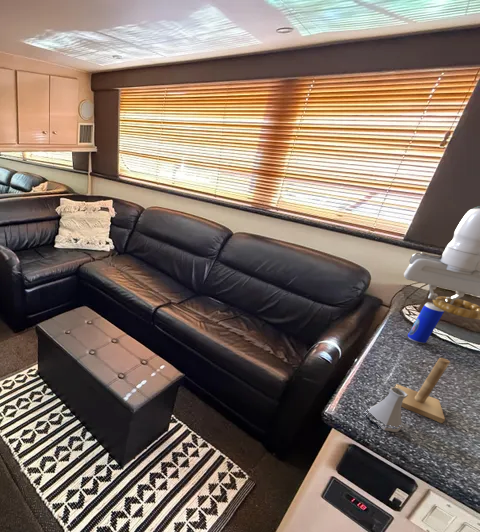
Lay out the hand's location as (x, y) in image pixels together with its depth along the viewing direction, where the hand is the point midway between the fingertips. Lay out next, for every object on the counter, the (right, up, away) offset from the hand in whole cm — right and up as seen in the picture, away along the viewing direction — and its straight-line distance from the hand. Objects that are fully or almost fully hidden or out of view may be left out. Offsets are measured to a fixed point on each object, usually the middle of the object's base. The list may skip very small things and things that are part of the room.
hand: (439, 301), depth 98 cm
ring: (+3, -2, -2) cm, 4 cm away
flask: (-33, -30, -16) cm, 47 cm away
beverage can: (+15, -17, +21) cm, 31 cm away
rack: (-17, -28, -10) cm, 34 cm away
